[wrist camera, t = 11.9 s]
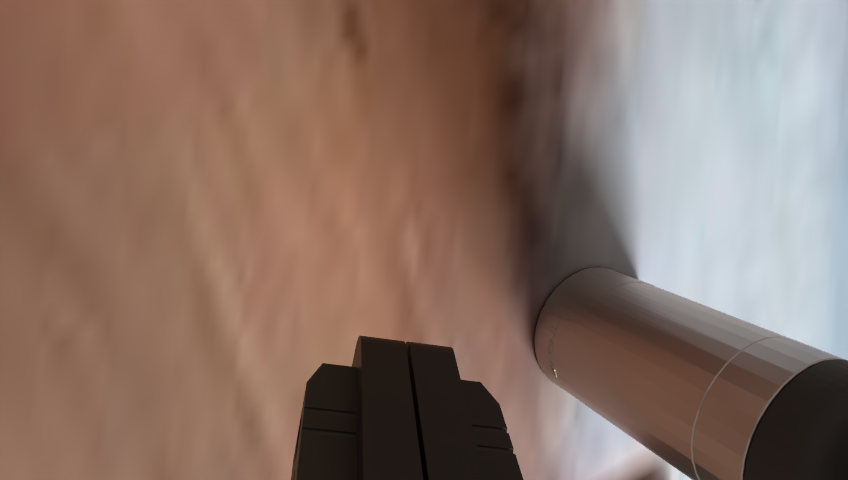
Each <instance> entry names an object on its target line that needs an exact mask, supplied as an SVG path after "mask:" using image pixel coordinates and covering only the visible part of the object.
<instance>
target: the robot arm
mask: <svg viewBox="0 0 848 480" xmlns="http://www.w3.org/2000/svg"><path fill="white" fill-rule="evenodd" d="M535 353H536V356H537V360H538V363H539V365H540V367H541V369H542V371H543V373H544V374H545V375H546V376H547V377H548V378H549V379H550V380H551V381H552V382H554V383H555V384H557V385H558V386H560V387H561V388H562V389H564V390H565V391H567V392H568V393H570V394H571V395H572V396H574V397H575V398H577V399H578V400H580V401H581V402H582V403H584V404H585V405H586V406H588V407H589V408H591V409H592V410H593V411H595V412H596V413H598V414H599V415H601V416H602V417H603V418H605V419H606V420H608V421H609V422H611V423H612V424H613V425H615V426H616V427H618V428H619V429H621V430H622V431H623V432H625V433H626V434H628V435H629V436H631V437H632V438H634V439H635V440H636V441H638V442H639V443H641V444H642V445H644V446H645V447H646V448H648V449H649V450H651V451H652V452H654V453H655V454H656V455H658V456H659V457H661V458H662V459H664V460H665V461H666V462H668V463H669V464H671V465H672V466H674V467H675V468H677V469H678V470H679V471H681V472H682V473H684V474H685V475H687V476H688V477H689V478H691V479H692V480H848V361H847V360H845V359H842V358H840V357H837V356H835V355H832V354H829V353H827V352H824V351H822V350H819V349H816V348H814V347H811V346H809V345H806V344H803V343H801V342H798V341H796V340H793V339H790V338H787V337H785V336H782V335H779V334H777V333H774V332H772V331H769V330H766V329H764V328H761V327H759V326H756V325H754V324H751V323H748V322H746V321H743V320H741V319H738V318H735V317H733V316H730V315H728V314H725V313H722V312H720V311H717V310H715V309H712V308H710V307H707V306H704V305H702V304H699V303H697V302H694V301H691V300H689V299H686V298H684V297H681V296H678V295H676V294H673V293H671V292H668V291H666V290H663V289H660V288H658V287H655V286H653V285H651V284H648V283H645V282H643V281H640V280H637V279H635V278H632V277H630V276H627V275H624V274H622V273H619V272H617V271H614V270H611V269H608V268H601V267H596V268H588V269H585V270H582V271H579V272H577V273H575V274H573V275H572V276H570V277H569V278H567V279H565V280H564V281H563V282H562V283H561V284H560V285H559V286H558V287H557V288H556V289H555V290H554V291H553V293H552V294H551V295H550V297H549V298H548V299H547V301H546V303H545V305H544V307H543V309H542V311H541V313H540V316H539V319H538V322H537V325H536V332H535ZM291 480H523V477H522V474H521V471H520V468H519V465H518V461H517V458H516V455H515V454H513V446H512V443H511V439H510V436H509V433H507V427H506V424H505V421H504V417H503V414H502V411H501V408H500V405H499V403H498V402H497V401H496V400H495V399H494V398H493V396H492V395H491V394H490V393H489V392H488V391H487V389H486V388H485V387H484V386H483V385H482V384H481V382H475V381H466V380H461V379H460V375H459V371H458V367H457V363H456V359H455V355H454V351H453V349H452V348H451V347H445V346H437V345H429V344H422V343H414V342H406V344H405V342H404V341H397V340H389V339H382V338H374V337H366V336H359V338H358V341H357V345H356V349H355V354H354V359H353V364H352V367H349V366H341V365H333V364H325V363H323V364H322V365H321V366H320V367H319V368H318V370H317V371H316V372H315V373H314V374H313V376H312V377H311V378H310V379H309V380H308V382H307V385H306V390H305V396H304V402H303V408H302V413H301V419H300V425H299V431H298V436H297V442H296V448H295V454H294V459H293V468H292V476H291Z"/></svg>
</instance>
